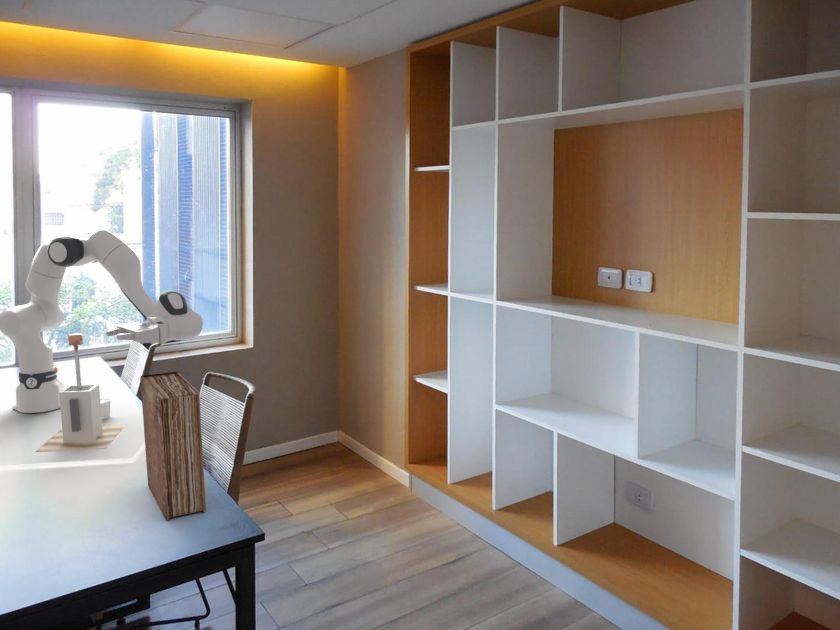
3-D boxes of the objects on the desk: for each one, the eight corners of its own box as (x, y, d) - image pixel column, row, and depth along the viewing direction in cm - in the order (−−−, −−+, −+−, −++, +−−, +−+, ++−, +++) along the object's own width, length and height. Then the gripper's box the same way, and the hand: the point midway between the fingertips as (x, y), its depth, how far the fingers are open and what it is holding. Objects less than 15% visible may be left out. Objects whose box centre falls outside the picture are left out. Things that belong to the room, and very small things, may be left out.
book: (206, 513, 169) (199, 392, 164) (166, 522, 164) (158, 397, 160) (183, 478, 191) (177, 371, 186) (147, 485, 186) (140, 375, 181)
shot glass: (103, 424, 240) (102, 404, 239) (85, 423, 241) (84, 403, 240) (116, 418, 246) (114, 398, 245) (98, 417, 248) (97, 398, 247)
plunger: (74, 406, 223) (67, 333, 220) (94, 405, 224) (88, 332, 221) (67, 412, 217) (60, 336, 214) (88, 411, 218) (82, 336, 215)
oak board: (63, 430, 233) (63, 427, 232) (126, 427, 235) (126, 424, 235) (35, 455, 209) (34, 451, 209) (105, 452, 212) (105, 448, 212)
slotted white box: (73, 433, 226) (69, 385, 223) (102, 432, 227) (98, 384, 225) (60, 444, 215) (56, 394, 213) (91, 443, 216) (87, 392, 214)
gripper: (142, 317, 241) (100, 321, 232) (166, 324, 226) (123, 329, 217) (143, 335, 242) (101, 340, 233) (167, 343, 227) (124, 349, 218)
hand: (112, 335), depth 225 cm, fingers open, 8 cm apart
